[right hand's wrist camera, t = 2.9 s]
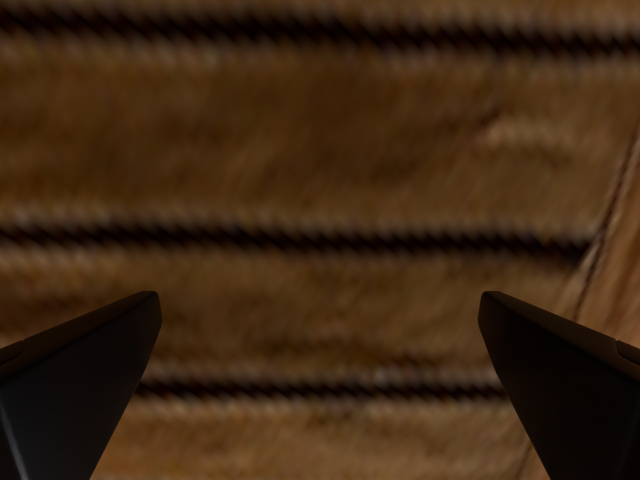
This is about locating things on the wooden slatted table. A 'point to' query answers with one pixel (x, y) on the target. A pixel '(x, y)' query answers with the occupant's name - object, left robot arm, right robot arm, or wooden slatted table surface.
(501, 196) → the wooden slatted table surface
